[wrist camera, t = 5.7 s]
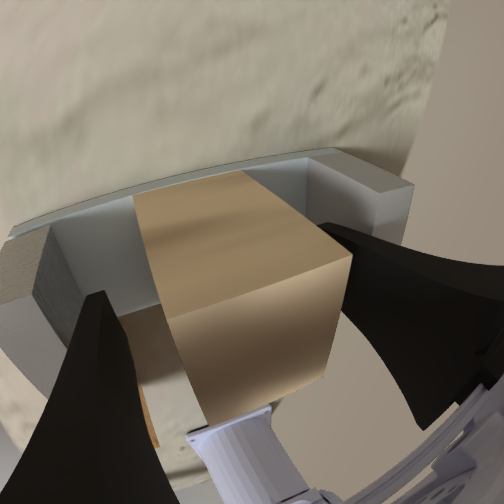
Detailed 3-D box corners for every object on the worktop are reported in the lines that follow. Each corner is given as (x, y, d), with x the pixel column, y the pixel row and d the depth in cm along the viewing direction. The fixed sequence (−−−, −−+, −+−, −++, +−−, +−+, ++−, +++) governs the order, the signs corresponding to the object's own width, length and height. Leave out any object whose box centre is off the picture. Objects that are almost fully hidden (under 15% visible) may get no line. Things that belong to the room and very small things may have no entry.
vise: (325, 238, 16) (387, 289, 12) (60, 321, 11) (62, 412, 8) (332, 147, 13) (414, 184, 9) (12, 227, 8) (-25, 313, 5)
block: (246, 276, 14) (322, 377, 9) (161, 303, 12) (209, 427, 8) (240, 170, 11) (352, 254, 6) (131, 195, 9) (166, 319, 5)
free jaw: (142, 388, 15) (162, 454, 12) (112, 396, 15) (129, 463, 11) (53, 214, 9) (31, 294, 5) (10, 231, 8) (-25, 313, 5)
